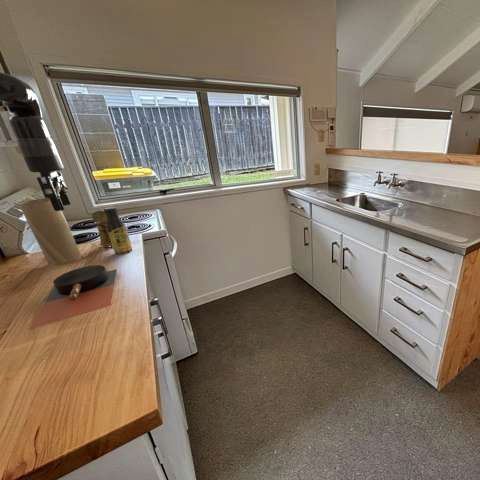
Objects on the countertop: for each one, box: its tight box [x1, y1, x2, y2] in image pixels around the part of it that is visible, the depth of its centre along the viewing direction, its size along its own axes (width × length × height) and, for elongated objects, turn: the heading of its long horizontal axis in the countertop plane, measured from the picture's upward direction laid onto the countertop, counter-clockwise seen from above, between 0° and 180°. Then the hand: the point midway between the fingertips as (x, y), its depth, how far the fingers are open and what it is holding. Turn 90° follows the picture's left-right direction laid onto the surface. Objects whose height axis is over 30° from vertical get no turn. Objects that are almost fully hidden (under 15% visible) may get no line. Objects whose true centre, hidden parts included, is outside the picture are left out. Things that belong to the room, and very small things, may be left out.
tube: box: [18, 197, 83, 267], centre depth 100 cm, size 10×10×25 cm
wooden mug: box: [91, 210, 112, 248], centre depth 115 cm, size 9×14×18 cm, turn 35°
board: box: [28, 268, 118, 330], centre depth 80 cm, size 17×27×1 cm, turn 33°
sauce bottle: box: [103, 206, 133, 256], centre depth 106 cm, size 7×6×20 cm
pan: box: [52, 264, 109, 301], centre depth 81 cm, size 13×21×4 cm, turn 33°
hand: (63, 207), depth 82 cm, fingers open, 8 cm apart
